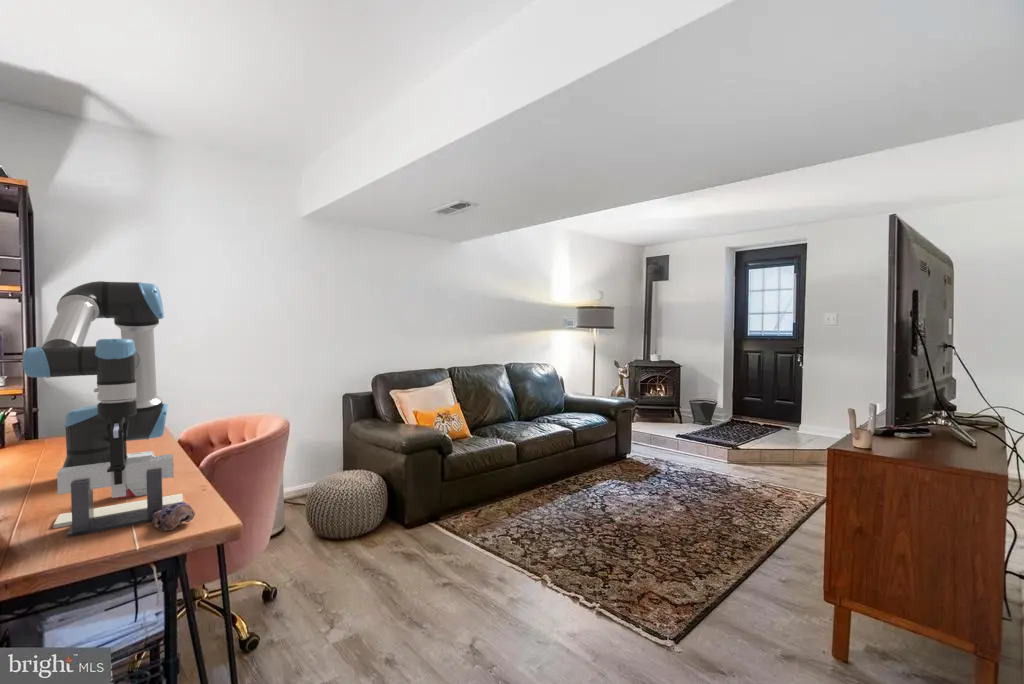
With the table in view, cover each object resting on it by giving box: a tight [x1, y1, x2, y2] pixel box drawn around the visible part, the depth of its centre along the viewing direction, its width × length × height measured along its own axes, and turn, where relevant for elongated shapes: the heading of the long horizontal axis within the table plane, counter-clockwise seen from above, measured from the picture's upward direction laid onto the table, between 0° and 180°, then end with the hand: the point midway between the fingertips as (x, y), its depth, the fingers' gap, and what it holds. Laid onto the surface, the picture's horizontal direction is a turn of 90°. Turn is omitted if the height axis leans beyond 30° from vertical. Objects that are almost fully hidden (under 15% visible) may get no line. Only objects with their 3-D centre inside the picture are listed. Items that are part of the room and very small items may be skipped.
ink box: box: [116, 450, 155, 500], centre depth 141 cm, size 8×5×12 cm, turn 123°
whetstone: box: [56, 453, 175, 495], centre depth 120 cm, size 5×22×5 cm, turn 126°
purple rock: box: [152, 501, 196, 532], centre depth 118 cm, size 12×8×6 cm, turn 57°
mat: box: [53, 493, 184, 529], centre depth 128 cm, size 8×26×1 cm, turn 126°
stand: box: [66, 470, 167, 538], centre depth 120 cm, size 8×19×12 cm, turn 126°
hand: (119, 493), depth 120 cm, fingers closed on whetstone, 5 cm apart
